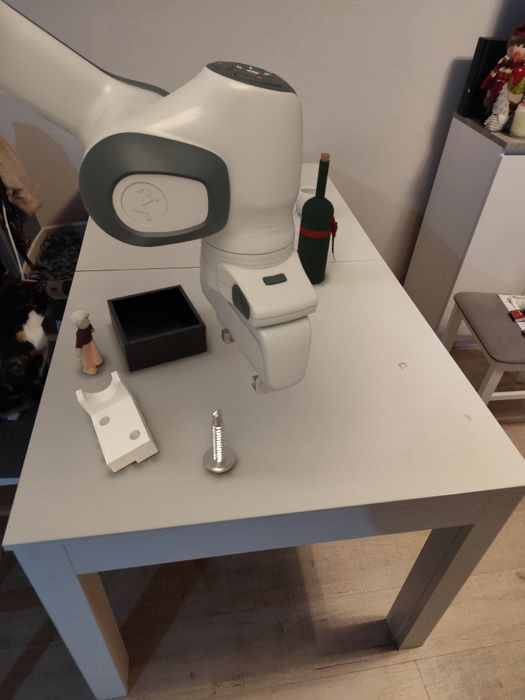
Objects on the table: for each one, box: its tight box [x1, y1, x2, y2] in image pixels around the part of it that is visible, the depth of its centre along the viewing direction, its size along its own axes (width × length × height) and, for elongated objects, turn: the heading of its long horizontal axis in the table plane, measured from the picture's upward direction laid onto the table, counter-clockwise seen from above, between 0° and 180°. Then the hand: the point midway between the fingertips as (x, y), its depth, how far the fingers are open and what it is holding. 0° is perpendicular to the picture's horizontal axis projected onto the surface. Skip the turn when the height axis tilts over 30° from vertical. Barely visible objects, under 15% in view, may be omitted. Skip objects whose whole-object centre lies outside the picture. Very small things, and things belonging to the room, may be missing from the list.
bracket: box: [75, 370, 159, 473], centre depth 71 cm, size 13×7×8 cm, turn 29°
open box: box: [106, 284, 208, 373], centre depth 90 cm, size 16×16×7 cm
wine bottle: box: [296, 152, 339, 286], centre depth 104 cm, size 8×10×30 cm
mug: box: [295, 185, 316, 217], centre depth 141 cm, size 12×8×8 cm
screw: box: [202, 408, 236, 474], centre depth 65 cm, size 13×5×5 cm
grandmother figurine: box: [69, 309, 104, 376], centre depth 81 cm, size 8×4×13 cm, turn 8°
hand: (244, 363), depth 53 cm, fingers open, 8 cm apart
